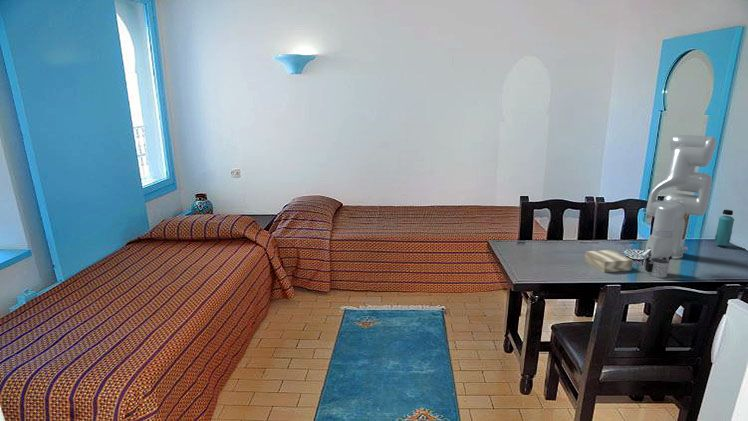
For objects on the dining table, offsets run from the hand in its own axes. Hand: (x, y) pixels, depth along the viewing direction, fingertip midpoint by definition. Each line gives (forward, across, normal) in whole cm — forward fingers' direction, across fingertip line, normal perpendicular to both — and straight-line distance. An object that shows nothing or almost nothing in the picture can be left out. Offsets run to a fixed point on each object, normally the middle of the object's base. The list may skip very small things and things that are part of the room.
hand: (655, 270), depth 195 cm
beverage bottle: (+2, -63, -26) cm, 68 cm away
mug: (+2, +1, 0) cm, 2 cm away
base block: (+1, +15, -12) cm, 19 cm away
